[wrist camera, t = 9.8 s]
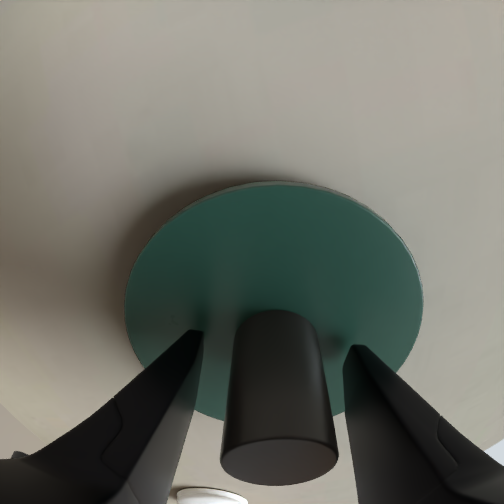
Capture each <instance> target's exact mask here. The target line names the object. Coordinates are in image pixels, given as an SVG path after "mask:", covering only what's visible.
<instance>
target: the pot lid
mask: <svg viewBox="0 0 504 504" xmlns="http://www.w3.org/2000/svg"><path fill="white" fill-rule="evenodd" d="M124 310H125V323H126V328H127V332H128V336H129V339H130V342H131V344H132V347H133V350H134V352H135V354H136V355H137V357H138V359H139V361H140V362H141V364H142V365H143V367H144V368H146V367H148V366H149V365H150V364H151V363H152V362H153V361H154V360H155V359H157V358H158V357H159V356H160V355H161V354H162V353H163V352H164V351H165V350H167V349H168V348H169V347H170V346H171V345H172V344H173V343H174V342H175V341H177V340H178V339H179V338H180V337H181V336H182V335H183V334H184V333H185V332H187V331H188V330H189V329H193V330H200V331H203V332H204V353H203V362H202V368H201V374H200V380H199V387H198V393H197V399H196V404H195V408H194V410H196V411H198V412H200V413H202V414H205V415H207V416H210V417H212V418H215V419H219V420H222V421H224V427H223V436H222V444H221V453H220V463H221V466H222V468H223V469H224V471H225V472H227V473H228V474H229V475H231V476H232V477H234V478H236V479H239V480H241V481H244V482H248V483H252V484H257V485H267V486H283V485H292V484H298V483H303V482H307V481H310V480H313V479H316V478H318V477H320V476H322V475H324V474H326V473H327V472H329V471H330V470H331V469H332V468H333V467H334V466H335V465H336V463H337V461H338V457H339V453H338V447H337V440H336V434H335V428H334V422H333V416H335V415H337V414H340V413H342V412H344V411H345V405H344V388H343V374H342V369H343V364H344V361H345V359H346V356H347V354H348V351H349V349H350V347H351V345H353V344H361V345H366V346H367V347H368V348H369V349H370V350H371V351H373V352H374V353H375V354H376V355H377V356H378V357H379V358H380V359H381V360H382V361H383V362H384V363H385V364H387V365H388V366H389V367H390V368H391V369H392V370H393V371H394V372H395V373H396V372H397V371H398V370H399V368H400V367H401V366H402V364H403V363H404V362H405V360H406V358H407V357H408V355H409V353H410V351H411V350H412V348H413V345H414V343H415V341H416V338H417V336H418V333H419V329H420V325H421V321H422V313H423V289H422V283H421V279H420V275H419V271H418V268H417V266H416V263H415V261H414V259H413V256H412V254H411V253H410V251H409V249H408V248H407V246H406V245H405V243H404V242H403V240H402V239H401V237H400V236H399V235H398V234H397V233H396V232H395V231H394V230H393V229H392V228H391V227H390V225H389V224H388V223H387V222H386V221H385V220H384V219H383V218H381V217H380V216H379V215H378V214H376V213H375V212H374V211H372V210H371V209H370V208H369V207H367V206H366V205H364V204H362V203H360V202H358V201H357V200H355V199H353V198H351V197H349V196H347V195H345V194H342V193H339V192H337V191H334V190H331V189H329V188H326V187H321V186H317V185H312V184H307V183H302V182H288V181H267V182H253V183H248V184H243V185H239V186H234V187H229V188H226V189H223V190H221V191H218V192H215V193H212V194H210V195H207V196H205V197H203V198H201V199H199V200H197V201H195V202H194V203H192V204H190V205H188V206H186V207H185V208H183V209H182V210H181V211H179V212H178V213H177V214H175V215H174V216H173V217H171V218H170V219H169V220H168V221H167V222H166V223H165V224H164V225H163V226H162V227H161V228H160V229H159V230H158V231H157V232H156V233H155V234H154V235H153V236H152V237H151V239H150V240H149V241H148V243H147V244H146V246H145V247H144V249H143V250H142V251H141V253H140V254H139V256H138V258H137V260H136V262H135V264H134V266H133V268H132V270H131V273H130V276H129V280H128V283H127V287H126V293H125V303H124Z"/></svg>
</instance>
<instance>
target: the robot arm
mask: <svg viewBox="0 0 504 504" xmlns="http://www.w3.org/2000/svg"><path fill="white" fill-rule="evenodd" d="M203 353H204V332H203V331H200V330H193V329H189V330H188V331H187V332H185V333H184V334H183V335H182V336H181V337H180V338H179V339H178V340H177V341H175V342H174V343H173V344H172V345H171V346H170V347H169V348H168V349H167V350H165V351H164V352H163V353H162V354H161V355H160V356H159V357H158V358H157V359H155V360H154V361H153V362H152V363H151V364H150V365H149V366H148V367H146V368H145V369H144V370H143V371H142V372H141V373H140V374H139V375H138V376H136V377H135V378H134V379H133V380H132V381H131V382H130V383H129V384H127V385H126V386H125V387H124V388H123V389H122V390H121V391H119V392H118V393H117V394H116V395H115V396H114V398H111V399H110V400H109V401H108V402H107V403H106V404H105V405H103V406H102V407H101V408H100V409H99V410H97V411H96V412H95V413H94V414H92V415H91V416H90V417H89V418H87V419H86V420H84V421H83V422H82V423H80V424H79V425H77V426H76V427H75V428H73V429H72V430H70V431H69V432H67V433H66V434H64V435H62V436H61V437H59V438H58V439H56V440H55V441H53V442H52V443H50V444H49V445H47V446H46V447H44V448H42V449H41V450H39V451H37V452H35V453H34V454H31V455H28V456H25V457H22V458H16V459H0V504H166V503H167V500H168V496H169V493H170V489H171V486H172V482H173V479H174V476H175V472H176V469H177V466H178V462H179V459H180V455H181V452H182V449H183V445H184V442H185V439H186V435H187V432H188V429H189V425H190V422H191V419H192V415H193V412H194V408H195V404H196V399H197V393H198V387H199V380H200V374H201V368H202V362H203ZM342 374H343V388H344V405H345V417H346V424H347V430H348V435H349V441H350V448H351V454H352V460H353V467H354V474H355V480H356V488H357V495H358V502H359V504H504V466H502V465H501V464H499V463H498V462H497V461H495V460H494V459H493V458H491V457H490V456H489V455H488V454H486V453H485V452H484V451H482V450H481V449H480V448H478V447H477V446H476V445H475V444H473V443H472V442H471V441H470V440H468V439H467V438H466V437H465V436H463V435H462V434H461V433H460V432H459V431H458V430H456V429H455V428H454V427H453V426H452V425H451V424H450V423H449V422H448V421H447V420H445V419H444V418H443V417H442V416H440V414H439V413H438V412H437V411H436V410H435V409H434V408H433V407H432V406H430V405H429V404H428V403H427V402H426V401H425V400H424V399H423V398H422V397H421V396H420V395H419V394H418V393H417V392H416V391H414V390H413V389H412V388H411V387H410V386H409V385H408V384H407V383H406V382H405V381H404V380H403V379H402V378H401V377H399V376H398V375H397V374H396V373H395V372H394V371H393V370H392V369H391V368H390V367H389V366H388V365H387V364H385V363H384V362H383V361H382V360H381V359H380V358H379V357H378V356H377V355H376V354H375V353H374V352H373V351H371V350H370V349H369V348H368V347H367V346H366V345H361V344H353V345H351V347H350V349H349V351H348V354H347V356H346V359H345V361H344V364H343V369H342Z"/></svg>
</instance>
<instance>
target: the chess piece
mask: <svg viewBox="0 0 504 504" xmlns="http://www.w3.org/2000/svg"><path fill="white" fill-rule="evenodd" d="M177 497H178V499H177V503H178V504H248V502H247V500H246V499H245V498H243V497H241V496H239V495H237V494H234V493H231V492H227V491H222V490H216V489H208V488H188V489H183V490H180V491H179V492H178V493H177Z"/></svg>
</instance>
